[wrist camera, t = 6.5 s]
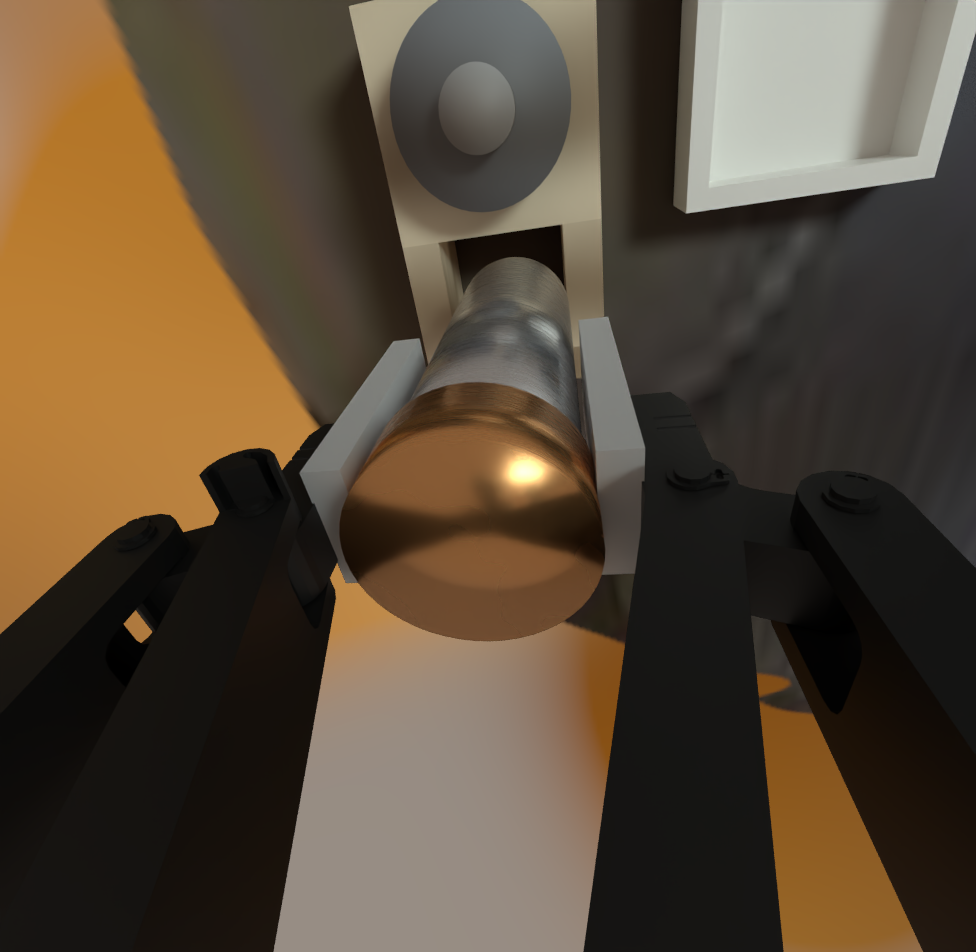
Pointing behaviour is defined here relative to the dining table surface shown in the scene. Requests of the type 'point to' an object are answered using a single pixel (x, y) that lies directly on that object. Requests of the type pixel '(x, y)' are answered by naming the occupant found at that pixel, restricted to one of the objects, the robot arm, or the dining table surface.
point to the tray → (813, 95)
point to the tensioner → (487, 136)
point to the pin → (484, 474)
